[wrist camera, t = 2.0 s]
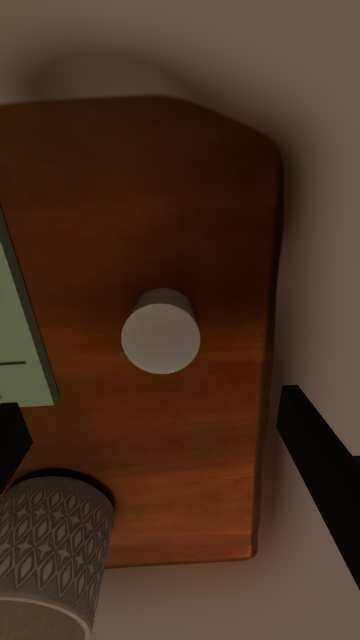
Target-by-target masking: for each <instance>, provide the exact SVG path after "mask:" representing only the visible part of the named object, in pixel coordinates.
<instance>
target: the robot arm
mask: <svg viewBox="0 0 360 640" xmlns="http://www.w3.org/2000/svg"><path fill="white" fill-rule="evenodd" d="M276 428H277V429H278V432H279V434H280V435H281V437H282V439H283V441H284V443H285V445H286V447H287V449H288V451H289V453H290V455H291V457H292V459H293V461H294V463H295V465H296V467H297V468H298V471H299V473H300V475H301V476H302V479H303V480H304V482H305V484H306V486H307V488H308V490H309V492H310V494H311V496H312V498H313V500H314V502H315V504H316V505H317V508H318V510H319V512H320V514H321V516H322V518H323V520H324V522H325V523H326V525H327V527H328V529H329V531H330V533H331V535H332V537H333V539H334V541H335V543H336V545H337V547H338V549H339V551H340V553H341V555H342V557H343V559H344V561H345V563H346V565H347V566H348V568H349V570H350V572H351V574H352V576H353V578H354V580H355V582H356V584H357V586H358V588H359V590H360V456H352V455H351V454H350V452H349V451H348V450H347V448H346V447H345V446H344V444H343V443H342V442H341V441H340V439H339V438H338V437H337V435H336V434H335V433H334V432H333V430H332V429H331V428H330V426H329V425H328V424H327V422H326V421H325V420H324V419H323V417H322V416H321V415H320V413H319V412H318V411H317V410H316V408H315V407H314V406H313V404H312V403H311V402H310V400H309V399H308V398H307V397H306V395H305V394H304V393H303V391H302V390H301V389H300V388H299V386H298V385H287V386H282V391H281V398H280V404H279V411H278V418H277V425H276ZM32 444H33V441H32V438H31V436H30V433H29V431H28V428H27V426H26V423H25V421H24V418H23V416H22V413H21V411H20V408H19V406H18V403H17V402H10V403H1V404H0V495H1V493H2V492H3V490H4V489H5V487H6V485H7V484H8V482H9V481H10V479H11V477H12V476H13V474H14V473H15V471H16V469H17V468H18V466H19V465H20V463H21V461H22V460H23V458H24V457H25V455H26V453H27V452H28V450H29V448H30V447H31V445H32Z"/></svg>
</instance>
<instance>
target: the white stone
mask: <svg viewBox="0 0 360 640" xmlns="http://www.w3.org/2000/svg"><path fill="white" fill-rule="evenodd" d="M200 340H201V338H200V331H199V327H198V323H197V318H196V314H195V310H194V308H193V305H192V304H191V302H190V301H189V300H188V298H187V297H186V296H184V295H183V294H181V293H180V292H178V291H176V290H173V289H168V288H156V289H152V290H150V291H147V292H145V293H144V294H142V295H141V296H140V297H139V298H138V299H137V300H136V302H135V303H134V305H133V307H132V309H131V311H130V313H129V315H128V317H127V319H126V322H125V324H124V326H123V329H122V333H121V343H122V347H123V350H124V352H125V354H126V356H127V357H128V358H129V360H130V361H131V362H132V363H133V364H134V365H136V366H137V367H139V368H140V369H142V370H144V371H147V372H150V373H156V374H168V373H173V372H176V371H178V370H181V369H182V368H184V367H186V366H187V365H188V364H189V363H190V362H191V361H192V360H193V359H194V358H195V356H196V354H197V353H198V350H199V347H200Z"/></svg>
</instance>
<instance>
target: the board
mask: <svg viewBox="0 0 360 640" xmlns="http://www.w3.org/2000/svg"><path fill="white" fill-rule="evenodd" d="M58 398H59V393H58V390H57V387H56V384H55V380H54V377H53V374H52V371H51V368H50V364H49V361H48V358H47V355H46V352H45V348H44V345H43V342H42V339H41V335H40V332H39V329H38V326H37V323H36V319H35V316H34V313H33V310H32V307H31V303H30V300H29V297H28V294H27V291H26V287H25V284H24V281H23V278H22V274H21V271H20V268H19V265H18V262H17V258H16V255H15V252H14V249H13V246H12V242H11V239H10V236H9V233H8V230H7V226H6V223H5V220H4V217H3V213H2V210H1V207H0V404H1V403H10V402H17V403H18V406H19V407H30V406H47V405H54V404H55V403H56V401H57V400H58Z"/></svg>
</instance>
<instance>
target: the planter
mask: <svg viewBox="0 0 360 640" xmlns="http://www.w3.org/2000/svg"><path fill="white" fill-rule="evenodd" d="M113 522H114V509H113V506H112V504H111V502H110V501H109V500H108V498H107V497H106V496H105V495H104V494H103V493H101V492H100V491H99V490H97V489H96V488H95V487H93V486H92V485H90V484H88V483H86V482H84V481H82V480H79V479H76V478H72V477H67V476H46V477H37V478H32V479H28V480H25V481H23V482H20V483H18V484H16V485H15V486H13V487H12V488H11V489H10V490H9V491H8V492H7V493H6V494H5V496H4V497H3V499H2V501H1V502H0V640H89V639H90V637H91V632H92V627H93V622H94V617H95V612H96V607H97V602H98V597H99V592H100V587H101V582H102V577H103V572H104V567H105V562H106V557H107V552H108V547H109V542H110V537H111V532H112V527H113Z"/></svg>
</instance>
